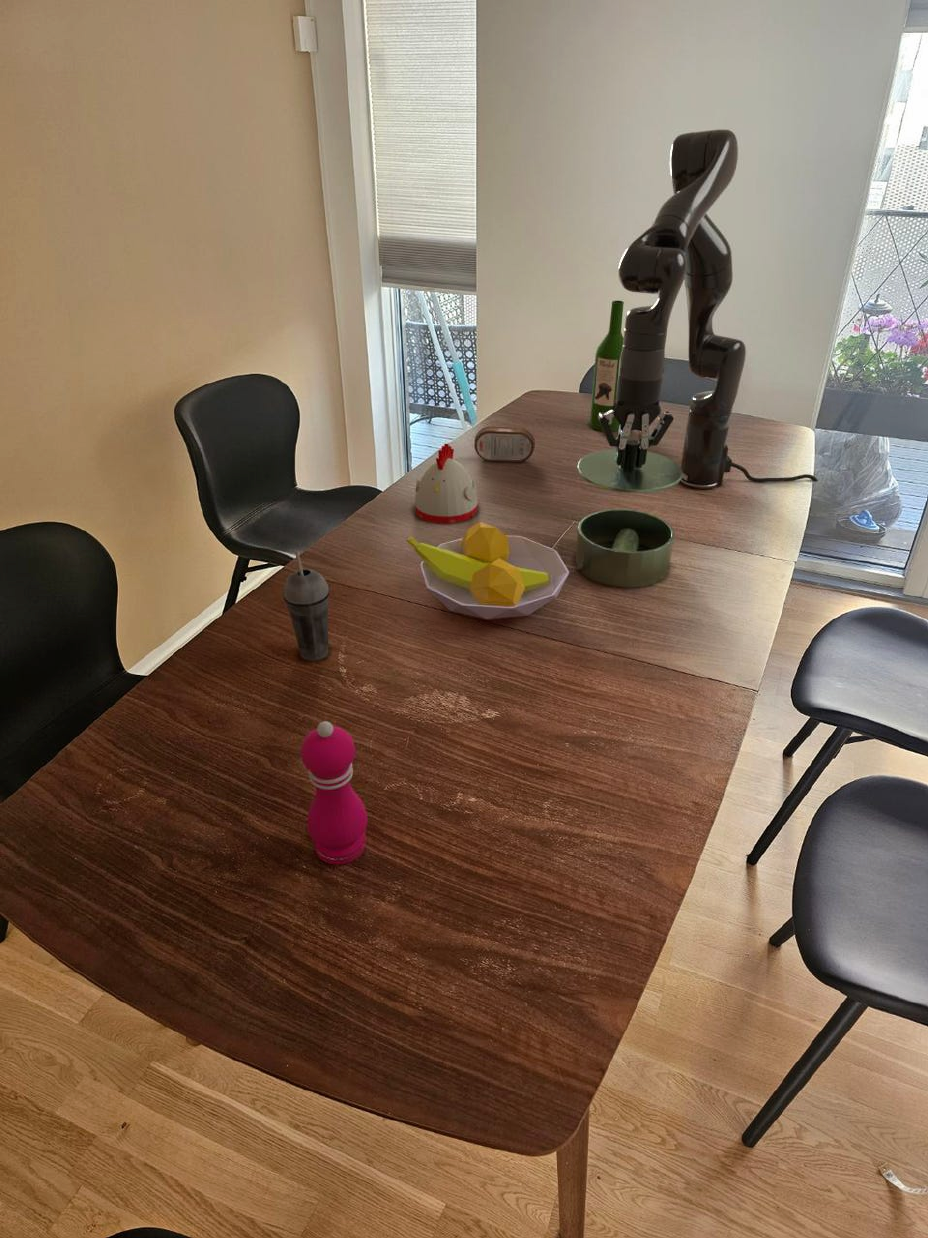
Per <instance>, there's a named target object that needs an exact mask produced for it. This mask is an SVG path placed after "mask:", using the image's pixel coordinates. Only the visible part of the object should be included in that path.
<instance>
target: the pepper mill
mask: <svg viewBox="0 0 928 1238" xmlns="http://www.w3.org/2000/svg"><path fill="white" fill-rule="evenodd" d="M300 753H301V755H300V756H301V760H302V763H303V765H304V766H305V768H306V769H307V771H308V777H309V781H310V783H311V784H312V785H313V786H314V787H315V796H314V798H313V799H312V802H311V805H310V806H309V807H310V808H309V810H308V814H307V819H306V820H307V830H308V834H309V836H310V838H311V839H312V840H313V842H314V843H313V844H314V849H315V853H316V855H317V857H318V858H319V859H320V860H321V861H322V862H325V863H327V864H330V865H334V866H335V865H336V866H337V865H339V866H341V865H345V864H346V865H347V864H349V863H352V862H353V861H355V860H357V859H358V858H359V857H360V856H361V855H362V854H363V853H364V851H365V849H366V845H367V840H366V829H367V827H368V822H369V821H368V814H367V810H366V807H365V805H364V803H363V800H362V799H361V798H360V796H359V795H358V794H357V793H356V792H355V790H354V789H353V788H352V786H351V782H350V780H351V779H352V778H353V774H354V769H353V761H354V759H355V754H356V748H355V743H354V740H353V739H352V736H351V734H349V733H348V731H346V729H343V728H342V727H339V726H335V725H333V724H332V723H331V722H330V721H325V720H324V721H321V722H320V723H319V724H318V725H317V728H315V729H313V730H312V731H311V730H310V732H309V733H308V734H307V735H306V737H305V738H304V740H303V742H302V745H301V752H300ZM364 841H365V843H364ZM363 843H364V846H363V847H362V849H361V850H360V851H359V852H358V853H357V854H355V855H354V856H352V857H350V858H347V859H343V860H330V859H327V858H325V857H323V856H321V855H320V854H319V853H318V852H320V853H321V854H322V855H324V856H326V857H330V858H334V859H336V858H338V859H340V858H345V857H348V856H351V855H353V854H354V853H356V852H357V851H358V850H359V849H360V848H361V846H362V845H363ZM315 847H316V848H315ZM316 849H317V850H318V852H317V850H316Z"/></svg>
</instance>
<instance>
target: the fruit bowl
mask: <svg viewBox="0 0 928 1238" xmlns="http://www.w3.org/2000/svg"><path fill="white" fill-rule="evenodd" d="M406 542H408V543H409V545H411V546H412V547H413V548H414V550H413V551H414V552H415V553H416V554H417V556H419V558H420V559H421V560H422V561H421V563H420V564H419V565H420V568H421V572H422V575H423V579H424V583H425V585H426V588H427V591H429V593H431V594H432V595H433V596H434V597H435V598H436V599H437V600H438V601H439V602H440V603H441V604H442V605H444V606H445V608H447V609H448V610H449V611H451V612H455V613H459V614H462V615H463V614H464V615H468V616H472V617H475V618H480V619H485V620H496V619H505V618H516V617H525V616H526V617H527V616H529V615H532V614H533V613H534V612H535V611H537V610H539V609H541V608H542V607H543V606H545V605H547V604H548V603H550V602H552V601H553V600H555V599H556V598H558V595H559V594H560V591H561V590H562V588H563V587H564V584H565V582H566V580H567V578H568V576H569V574H570V570H569V569H568V568H567V566H566V564H565V563H564V562H563V560H562V558H561V556H560V554H559V552H558V551H557V550H556V549H553V548H551V547H549V546H547V545H544V544H541V543H539V542H538V541H534V540H532V539H529V538H527V537H524V536H523V535H507V534H505V533H504V532H502V530H500V529H499V528H497V527H496V526H495V525H492V524H489V523H485V522H483V521H478V522H477V523H475V524H474V525H472V526H470V527H469V528H468V529H467V530H466V532H465V534H464V536H463V537H462V538H458V539H455V540H451V541H447V542H443V543H440V544H439V545H437V546H434V545H431V544H428V543H423V542H418V541H417V540H415V539H414V537H412V536H408V537H407V538H406Z"/></svg>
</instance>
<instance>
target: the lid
mask: <svg viewBox="0 0 928 1238" xmlns="http://www.w3.org/2000/svg"><path fill="white" fill-rule="evenodd" d="M639 446H640V442H639V440H636V439H627V443H626V446H625V449H626V456H625V465H624V468H620V467H619V465H617V463H616V460H615V458H616V449H617V448H611V449H604V450H603V449H602V450H599V451H598V450H597V451H594V452H591V453H589V454H587V455H585V456H583V457H582V458H580V459H579V461H578V463H577V474H578V475H579V476H580V477H581V478H582V479H583V480H584V481H586V482H587V483H589V484H591V485H594V486H595V487H599V488H601V489H604V490H608V491H614V492H618V493H619V492H621V493H629V494H630V493H631V494H641V493H642V494H647V493H655V492H661V491H664V490H667V489H670V488H672V487H675V486H676V485H678V484H679V483H680V482H679V481H680V480H681V478H682V470H681V465H679V464H678V463H677V462H676V461H674V460H672V459H671V458H669V457H667V456H665V455H663V454H659V453H657V452H656V453H655V452H652V451H647V455H646V462H645V464H644V465H642V468H637V462H638V454H639Z"/></svg>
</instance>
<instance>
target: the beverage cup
mask: <svg viewBox="0 0 928 1238" xmlns="http://www.w3.org/2000/svg"><path fill="white" fill-rule="evenodd" d="M294 555H295V559H296V563H297V567H298V568H297V569H298V570H296V571H294V572H293V573H291V574H290V575H289V576H288V578H287V579H286V581H285V583H284V588H283V600H284V602H285V604H286V608H287V609H288V611H289V615H290V620H291V623H292V627H293V631H294V635H295V639H296V643H297V646H298V649H299V652H300V656H301V657H302V659H304V660H305V661H311V662H313V661H319V660H322V659H324V658H326V657H327V656H328V654H329V609H328V608H329V607H328V606H329V600H330V597H329V596H330V592H331V591H330V589H329V585H328V583H327V581H326V580H325V578H324V576H322V574H321V573H320V572H318V571H316V570H314V569H310V568H303V566H302V561H301V558H300V557H301V556H300V553H299V550H298V549H295V550H294Z"/></svg>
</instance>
